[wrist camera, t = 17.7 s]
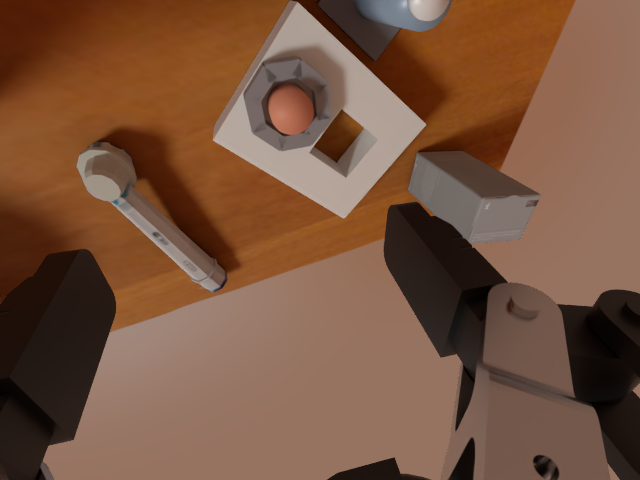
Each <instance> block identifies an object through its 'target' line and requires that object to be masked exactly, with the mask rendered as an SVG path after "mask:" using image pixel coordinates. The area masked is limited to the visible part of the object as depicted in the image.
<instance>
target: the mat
mask: <svg viewBox="0 0 640 480" xmlns="http://www.w3.org/2000/svg"><path fill="white" fill-rule="evenodd" d="M317 5H318V6H319V7H320V8H321V9H322V10H323V11H324V12H325V13H326V14H327V15H328V16H329V17H330V18H331V19H332V20H333V21H334V22H335V23H336V24H337V25H338V26H339V27H340V28H341V29H342V30H343V31H344V32H345V33H346V34H347V35H348V36H349V37H350V38H351V39H352V40H353V41H354V42H355V43H356V44H357V45H358V46H359V47H360V48H362V49H363V50H364V51H365V52H366V53H367V54H368V55H369V56H370V57H371V58H372V59H373V60H374V61H376V60H377V59H378V58H379V56H380V55H381V54H382V52H383V51H384V50H385V48H386V47H387V46H388V44H389V43H390V42H391V40H392V39H393V38H394V36H395V35H396V34H397V32H398V31H399V30H400V27H395V26H391V25H387V24H382V23H378V22H373V21H369V20H366V19H364V18H363V17H361V15H360V14H359V13H358V12H357V10H356V7H355V4H354V0H319V2H318V4H317Z"/></svg>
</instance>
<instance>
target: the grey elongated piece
mask: <svg viewBox="0 0 640 480" xmlns="http://www.w3.org/2000/svg"><path fill="white" fill-rule="evenodd" d="M131 159H132V158H131V157H130V156H129V155H128V154H127V153H126V152H125V151H124V150H123V149H119V148H117V147H114V146H112V145H110V143H107V142H96V143H94V144H92V145H90V146H89V147H88V148H87V149H86V150H84V151H83V152H81V153H80V155H79V159H78V163H77V168H78V170H79V172H80V174H81V176H82V179H83V182H84V184H85V186H86V188H87V190H88V192H89V193H91V194H92V195H93V196H94V197H95V198H98V199H101V200H103V201H110V202H111V203H112V204H113V205H114V206H115V207H116V208H117V209H118V210H119V211H121V212H122V213H123V214H124V215H125V216H126V217H127V218H128V219H129V220H130V221H131V222H132V223H134V224H135V225H136V226H137V227H138V228H139V229H140V230H141V231H142V232H143V233H144V234H145V235H146V236H148V237H149V238H150V239H151V240H152V241H153V242H154V243H155V244H156V245H157V246H158V247H159V248H161V249H162V250H163V251H164V252H165V253H166V254H167V255H168V256H169V257H170V258H171V259H172V260H174V261H175V262H176V263H177V264H178V265H179V266H180V267H181V268H182V269H183V270H184V271H185V272H186V273H188V274H189V275H190V276H191V280H192V281H194V282H196V283H199V284H200V285H202V286H203V287H204V288H205V289H206V290H208V291H211V292H213V293H214V292H216V291H218V290H220V289H222V288H223V286H224V285H225V283H226V282H227V280H228V279H227V273H226V272H225V271H224V270H223V269H222V268H221V267H220V266H219V265H218V264H217V260H216V259H215V258H211V257H209V256H208V255H207V254H206V253H205V252H204V251H203V250H202V249H200V248H199V247H198V246H197V245H196V244H195V243H194V242H193V241H192V240H191V239H189V238H188V237H187V236H186V235H185V234H184V233H183V232H182V231H181V230H180V229H178V228H177V227H176V226H175V225H174V224H173V223H172V222H171V221H170V220H168V219H167V218H166V217H165V216H164V215H163V214H162V213H161V212H160V211H159V210H157V209H156V208H155V207H154V206H153V205H152V204H151V203H150V202H149V201H148V200H146V199H145V198H144V197H143V196H142V195H141V194H140V193H139V192H138V191H136V190H135V189H134V186H135V183H136V181H137V176H136V173H135V168H134V166H133V163H132V160H131Z"/></svg>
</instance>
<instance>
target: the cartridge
mask: <svg viewBox="0 0 640 480" xmlns="http://www.w3.org/2000/svg"><path fill="white" fill-rule="evenodd" d="M451 3H452V0H354V4H355V7H356V10H357V12H358V13H359V14H360V15H361V17H363V18H364V19H366V20H369V21H373V22H378V23H382V24H387V25H391V26H395V27H400V28H404V29H409V30H413V31H418V32H422V31H427V30H430V29H432V28H433V27H435V26H436V25H437V24H439V23H440V22H441V21H442V19H443V18H444V17H445V15H446V14H447V12H448V10H449V8H450V6H451Z"/></svg>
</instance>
